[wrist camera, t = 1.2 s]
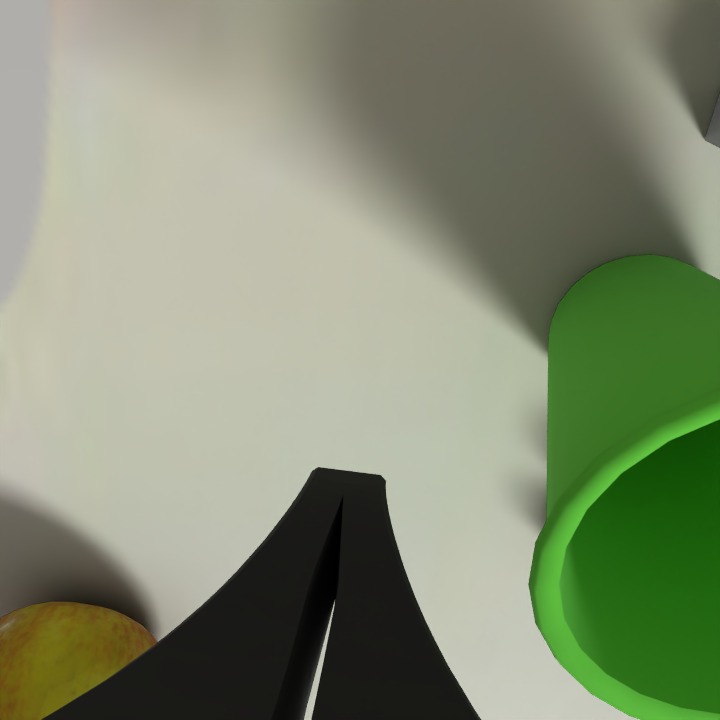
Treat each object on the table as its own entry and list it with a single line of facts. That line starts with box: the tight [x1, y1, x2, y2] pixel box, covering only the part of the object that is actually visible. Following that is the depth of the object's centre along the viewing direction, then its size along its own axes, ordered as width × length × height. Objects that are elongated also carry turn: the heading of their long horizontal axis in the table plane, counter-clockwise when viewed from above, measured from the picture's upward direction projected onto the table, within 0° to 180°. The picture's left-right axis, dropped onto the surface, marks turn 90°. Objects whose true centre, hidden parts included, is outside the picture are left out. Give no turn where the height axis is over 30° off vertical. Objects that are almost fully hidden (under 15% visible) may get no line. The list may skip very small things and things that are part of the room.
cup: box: [529, 255, 720, 720], centre depth 17 cm, size 9×9×11 cm
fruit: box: [0, 602, 158, 720], centre depth 28 cm, size 10×9×8 cm
